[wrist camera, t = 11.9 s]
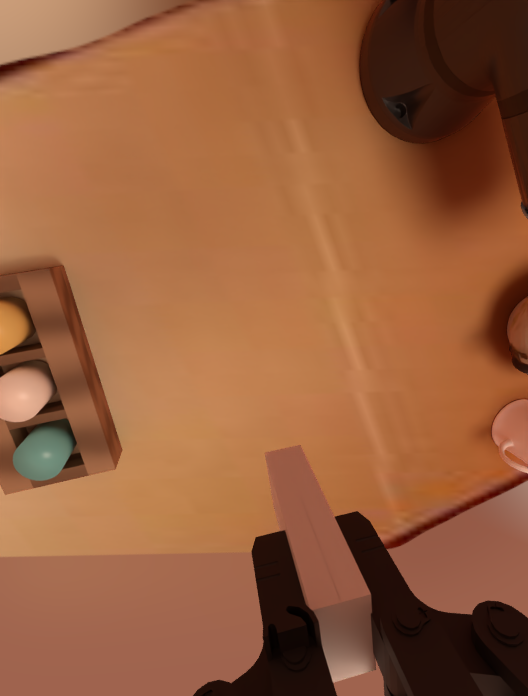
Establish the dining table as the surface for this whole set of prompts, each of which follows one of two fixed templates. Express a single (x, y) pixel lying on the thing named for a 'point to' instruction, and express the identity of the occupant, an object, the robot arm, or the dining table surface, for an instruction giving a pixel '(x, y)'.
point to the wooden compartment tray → (58, 381)
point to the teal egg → (45, 450)
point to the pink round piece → (25, 390)
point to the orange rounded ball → (14, 323)
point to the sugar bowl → (519, 336)
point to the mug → (512, 432)
